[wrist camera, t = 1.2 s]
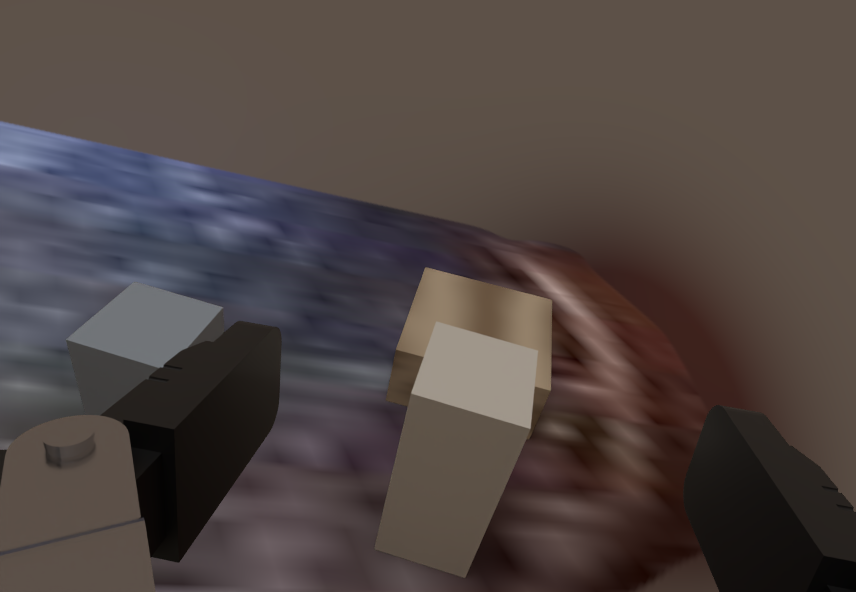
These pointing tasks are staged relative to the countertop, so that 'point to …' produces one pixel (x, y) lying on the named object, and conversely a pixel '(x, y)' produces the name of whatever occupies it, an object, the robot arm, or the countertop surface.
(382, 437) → the countertop surface
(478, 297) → the beech block
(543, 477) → the countertop surface
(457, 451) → the cream block
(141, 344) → the slate block
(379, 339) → the countertop surface
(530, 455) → the countertop surface
